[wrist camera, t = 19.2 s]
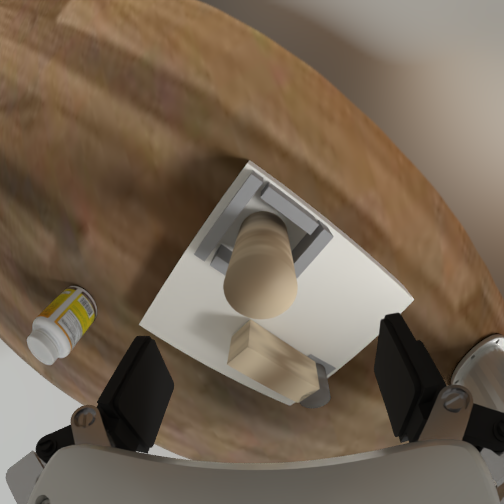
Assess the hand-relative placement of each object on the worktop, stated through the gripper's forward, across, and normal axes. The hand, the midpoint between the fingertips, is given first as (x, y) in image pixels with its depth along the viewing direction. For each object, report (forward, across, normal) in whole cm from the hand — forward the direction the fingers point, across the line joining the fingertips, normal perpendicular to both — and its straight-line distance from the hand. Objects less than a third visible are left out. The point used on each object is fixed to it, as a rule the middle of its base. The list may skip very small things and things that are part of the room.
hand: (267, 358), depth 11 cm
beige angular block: (+14, 0, +13) cm, 19 cm away
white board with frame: (+17, +1, +8) cm, 19 cm away
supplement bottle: (+17, +25, +6) cm, 31 cm away
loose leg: (+14, +1, 0) cm, 14 cm away
